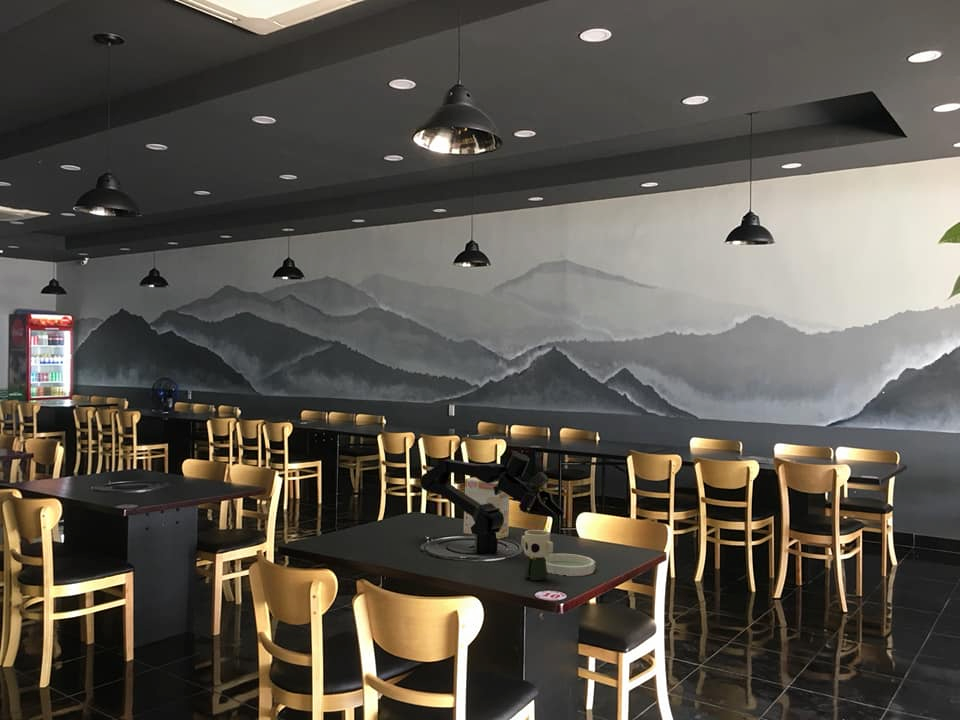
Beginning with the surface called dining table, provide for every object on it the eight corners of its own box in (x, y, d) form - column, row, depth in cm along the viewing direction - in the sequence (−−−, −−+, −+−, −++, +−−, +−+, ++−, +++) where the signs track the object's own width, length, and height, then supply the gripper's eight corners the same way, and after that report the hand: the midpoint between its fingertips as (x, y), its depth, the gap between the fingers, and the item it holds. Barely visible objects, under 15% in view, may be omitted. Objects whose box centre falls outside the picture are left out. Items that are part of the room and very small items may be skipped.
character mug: (512, 577, 211) (514, 530, 212) (528, 572, 217) (530, 527, 217) (543, 585, 204) (545, 537, 204) (559, 580, 209) (560, 533, 210)
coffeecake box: (508, 536, 264) (510, 480, 265) (497, 539, 259) (499, 482, 259) (474, 530, 273) (476, 476, 273) (462, 533, 267) (464, 478, 268)
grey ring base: (548, 576, 213) (549, 567, 213) (533, 562, 229) (533, 554, 229) (602, 575, 217) (602, 566, 217) (583, 561, 232) (583, 553, 232)
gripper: (518, 466, 224) (563, 492, 218) (537, 466, 242) (579, 490, 236) (501, 499, 225) (545, 526, 219) (521, 496, 242) (563, 522, 236)
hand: (559, 515), depth 227 cm, fingers open, 9 cm apart
